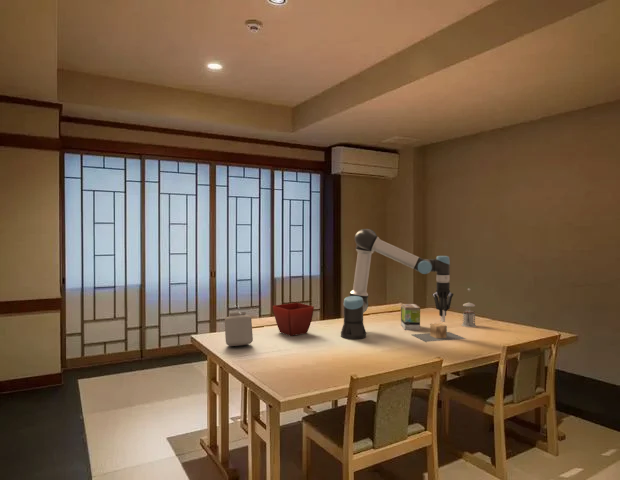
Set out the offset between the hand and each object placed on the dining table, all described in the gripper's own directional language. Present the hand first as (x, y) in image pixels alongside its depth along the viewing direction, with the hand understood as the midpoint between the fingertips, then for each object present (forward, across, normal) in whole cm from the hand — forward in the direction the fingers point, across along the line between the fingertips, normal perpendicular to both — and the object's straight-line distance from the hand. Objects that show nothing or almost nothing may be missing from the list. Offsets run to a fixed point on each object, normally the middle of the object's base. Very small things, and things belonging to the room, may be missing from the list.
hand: (442, 321), depth 268 cm
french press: (+10, +33, +23) cm, 41 cm away
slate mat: (+9, -3, 0) cm, 10 cm away
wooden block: (+5, +1, 0) cm, 5 cm away
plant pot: (+10, -84, +33) cm, 91 cm away
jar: (+10, -120, +11) cm, 121 cm away
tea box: (+10, -7, +28) cm, 30 cm away
